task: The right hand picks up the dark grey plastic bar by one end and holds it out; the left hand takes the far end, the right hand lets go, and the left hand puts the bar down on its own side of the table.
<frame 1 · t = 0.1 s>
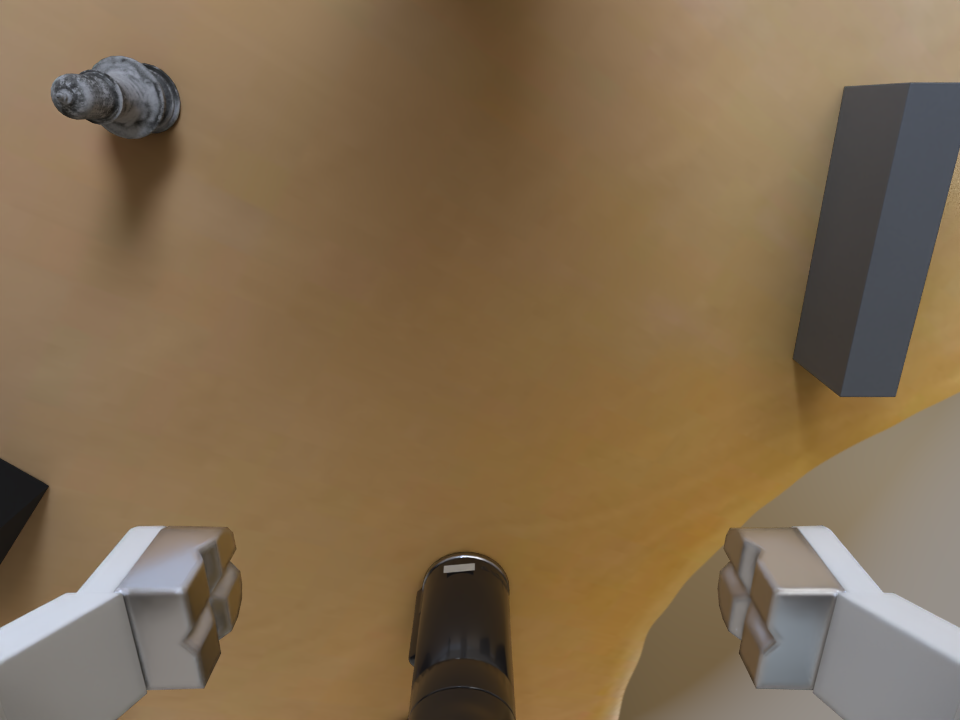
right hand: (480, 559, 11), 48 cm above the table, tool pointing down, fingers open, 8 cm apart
bar: (842, 233, 56), on the table
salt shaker: (148, 98, 52), on the table
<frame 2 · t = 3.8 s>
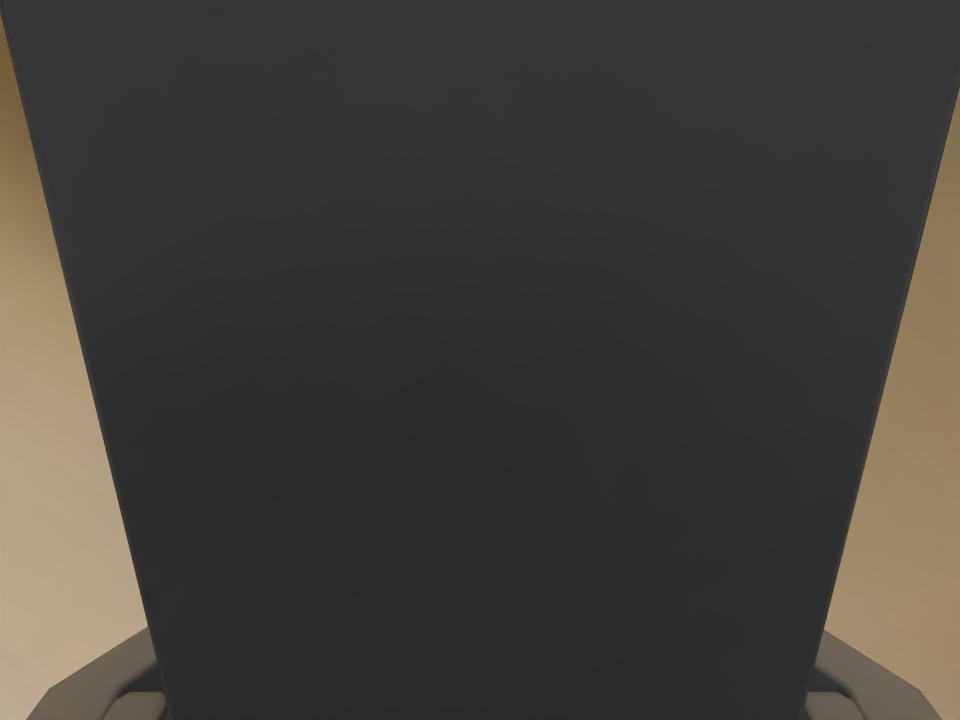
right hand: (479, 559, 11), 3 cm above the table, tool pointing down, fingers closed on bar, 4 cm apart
bar: (482, 5, 11), on the table, touching right hand
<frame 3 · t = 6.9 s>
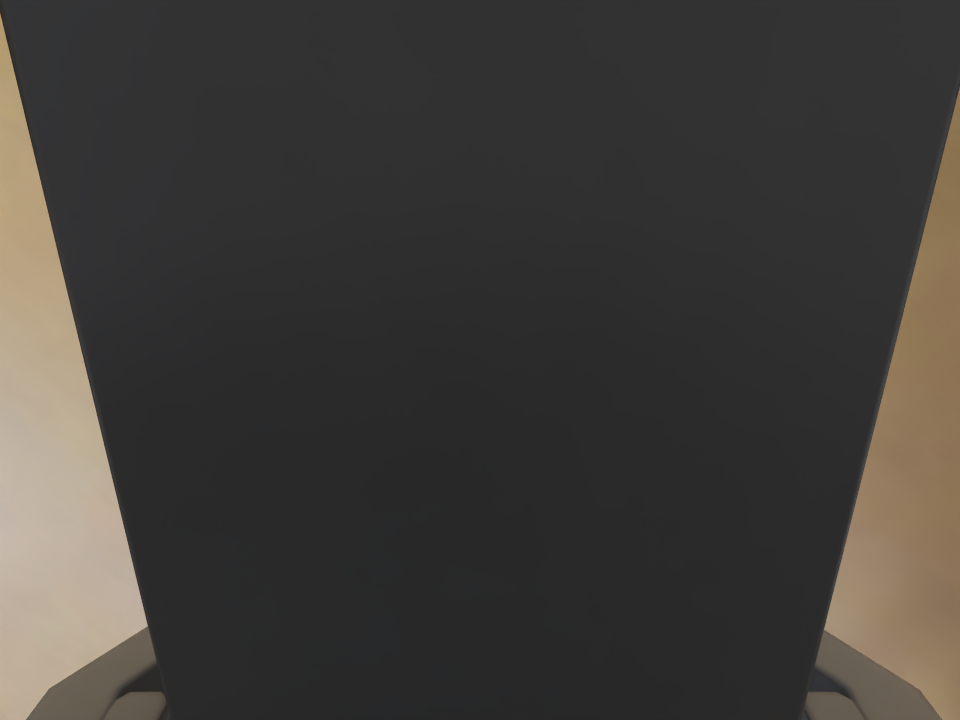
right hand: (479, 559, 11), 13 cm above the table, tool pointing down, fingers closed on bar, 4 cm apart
bar: (482, 5, 11), point 10 cm above the table, touching right hand
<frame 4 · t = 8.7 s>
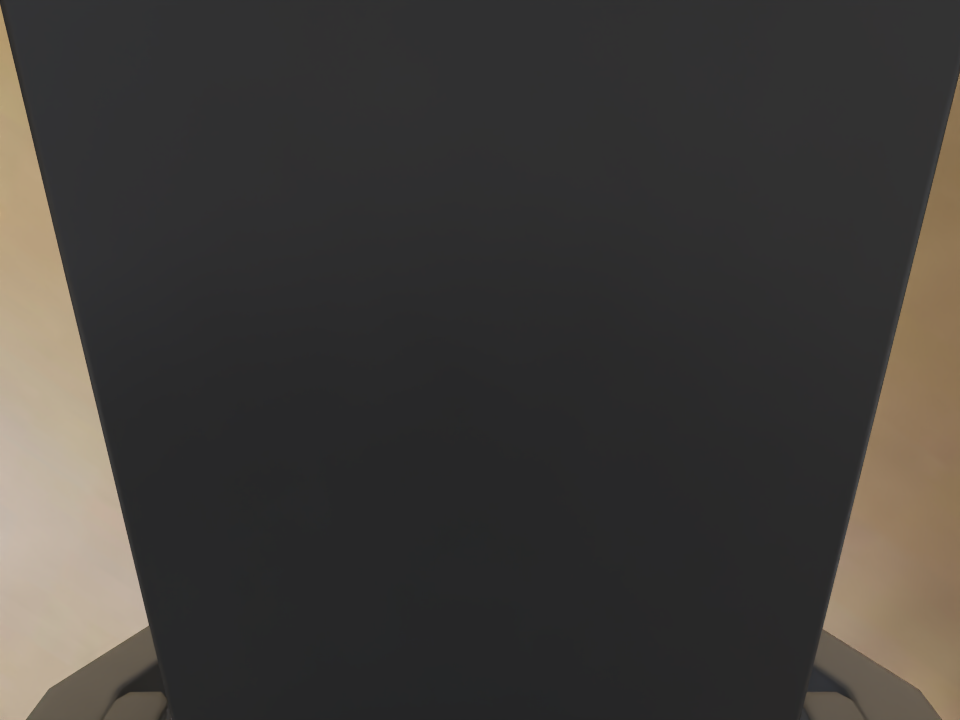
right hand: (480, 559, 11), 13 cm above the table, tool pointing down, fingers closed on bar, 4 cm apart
bar: (481, 6, 11), point 10 cm above the table, touching right hand, left hand
when the right hand's fingers open (13 cm above the table, at t = 9.8 s): bar stays where it is, held by the left hand.
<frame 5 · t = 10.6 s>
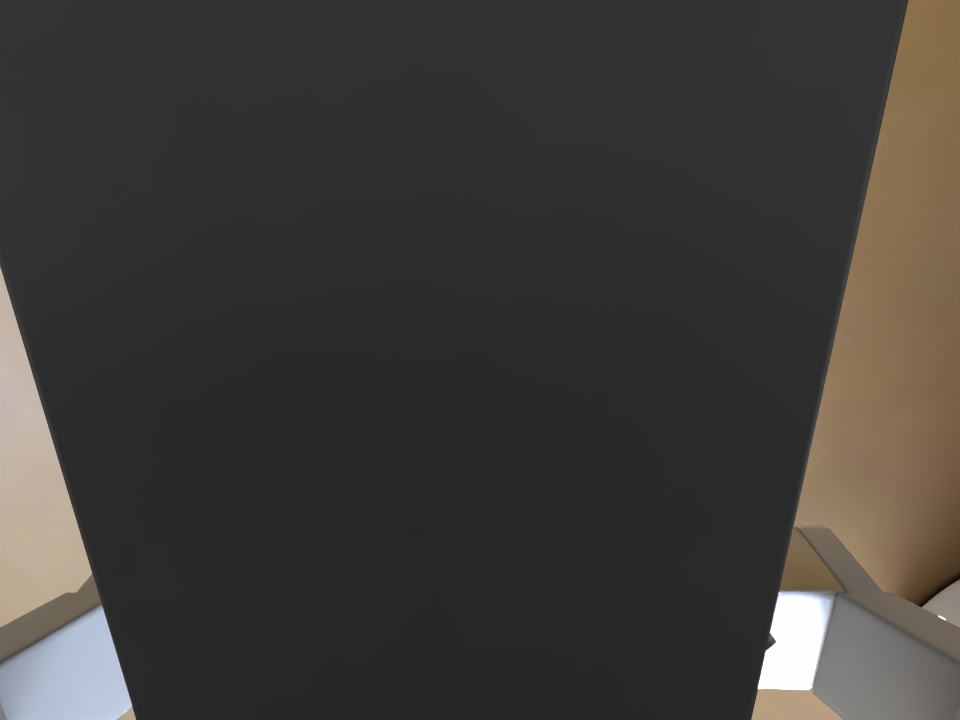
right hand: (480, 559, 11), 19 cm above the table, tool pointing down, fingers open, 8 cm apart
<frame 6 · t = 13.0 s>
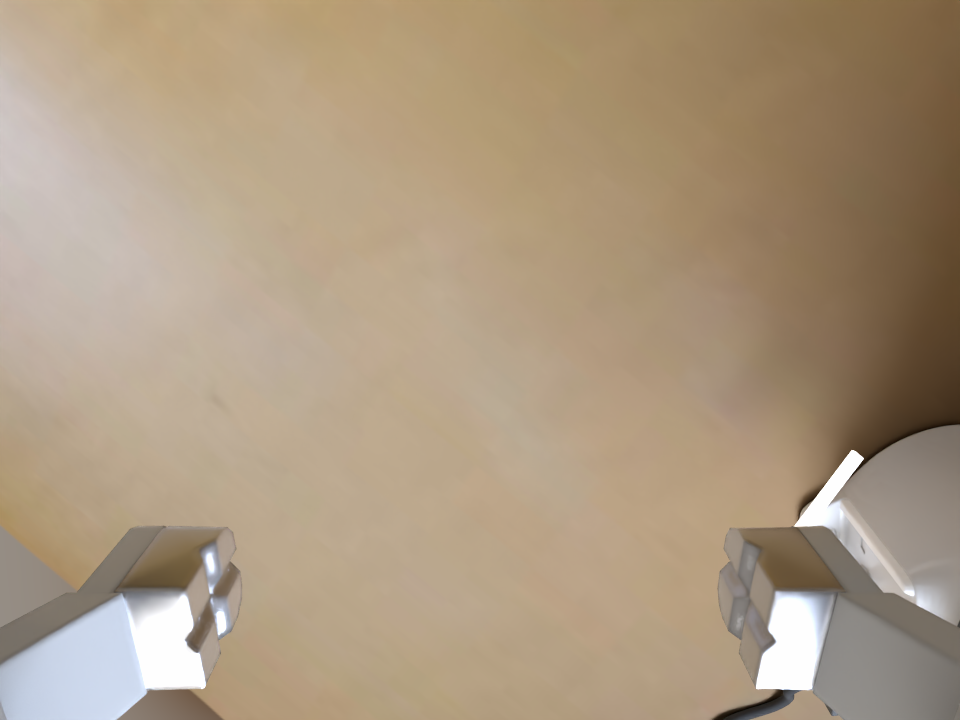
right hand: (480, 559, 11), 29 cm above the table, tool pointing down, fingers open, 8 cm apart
when the left hand's fingers open (5 cm above the table, at t = 17.2 s): bar drops 1 cm, on the table.
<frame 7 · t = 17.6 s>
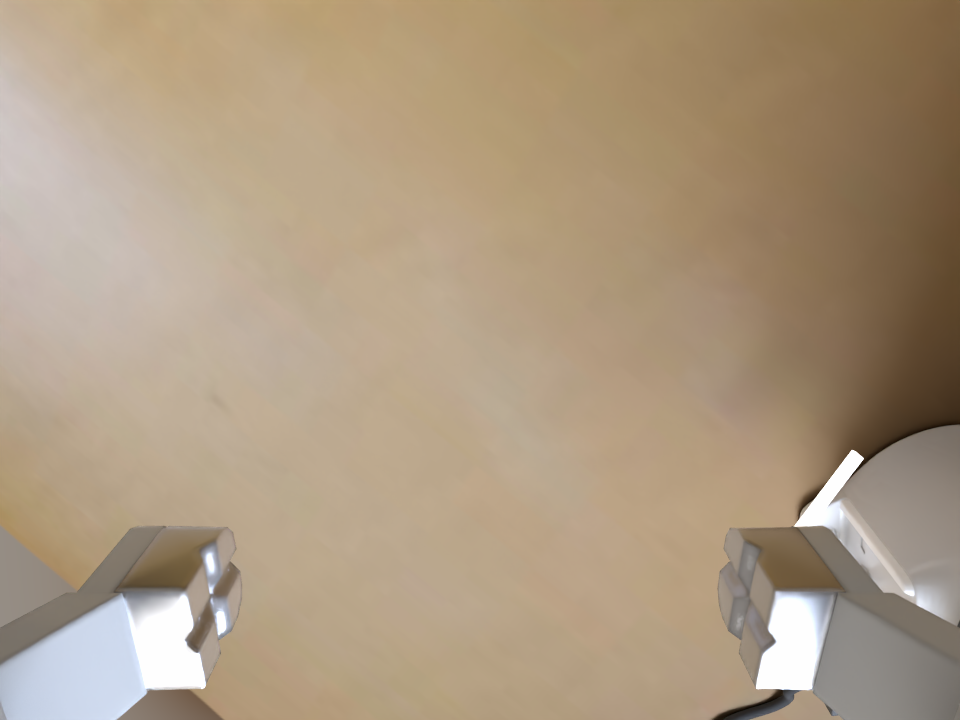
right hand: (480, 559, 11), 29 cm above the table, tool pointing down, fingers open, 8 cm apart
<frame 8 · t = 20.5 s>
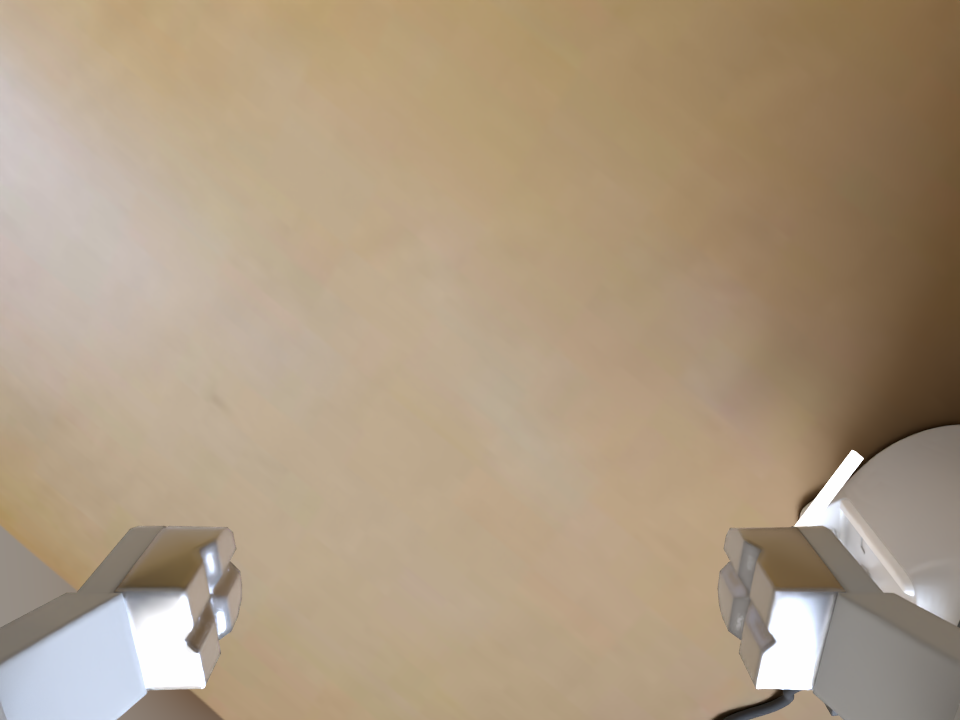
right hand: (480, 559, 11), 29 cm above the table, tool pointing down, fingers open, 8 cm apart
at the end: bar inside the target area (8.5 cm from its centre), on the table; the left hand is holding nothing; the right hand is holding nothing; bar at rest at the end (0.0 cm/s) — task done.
